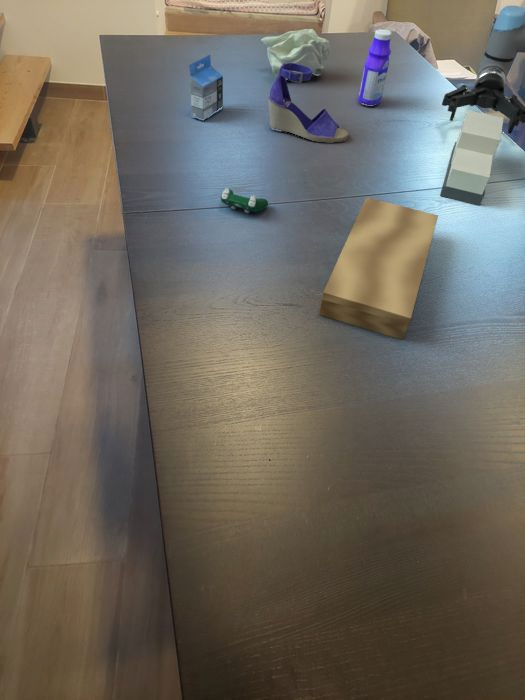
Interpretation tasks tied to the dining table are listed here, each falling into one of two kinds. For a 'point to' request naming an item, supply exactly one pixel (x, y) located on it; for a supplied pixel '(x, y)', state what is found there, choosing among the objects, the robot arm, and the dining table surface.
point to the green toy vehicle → (243, 201)
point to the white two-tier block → (472, 158)
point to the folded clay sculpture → (297, 50)
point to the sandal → (294, 118)
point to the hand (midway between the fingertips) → (482, 121)
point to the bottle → (375, 68)
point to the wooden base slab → (380, 268)
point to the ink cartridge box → (205, 88)
